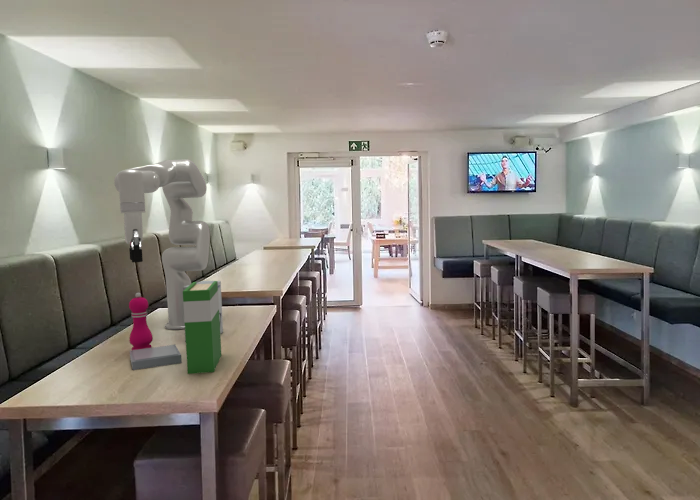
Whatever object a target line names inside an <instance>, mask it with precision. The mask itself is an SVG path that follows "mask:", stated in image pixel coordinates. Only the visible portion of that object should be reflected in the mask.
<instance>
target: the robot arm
mask: <svg viewBox="0 0 700 500" xmlns="http://www.w3.org/2000/svg"><path fill="white" fill-rule="evenodd" d="M113 184H114V188H115V189H116V191H118V192H119V193H118V194H119V195H118V196H119V209H120V214H123V221H124V222H123V224H124V225H123V227H124V241H125V243H126V244H127V245H129V259H130V260H131V262H132V263H142V262H143V249H142V243H143V239H144V238H143V213H146V201H145V200H146V199H145V194H152V193H155V192H156V191H157V190H158V189H159V188H162V192H163V194H164V197H165V199H166V201H167V204H168V207H169V209H170V217H169V228H168V240H169V242H170V244H172V245H175V246H174V247H173V246H172V247H169V248H166V249H164V251H163V252H162V255H161V263H162V266H163V270H164V275H165V285H166V287H165V288H166V299H167V301H166V303H167V315H168V317H167V318H168V322H167V323H165V324H164V328H165V329H166V330H185V325H184V305H183V287H184V286H188V285H191V284H192V281H191V278H190V277H189V275H188V274H187V273H186V272H193V271H194V272H197V271H198V272H200V271H204V270H205V269H206V268H207V267H208V263H209V256H210V255H209V254H210V242H211V241H210V240H211V239H210V238H211V231H210V226H209V224H208V223H207V222H206V221H202V220H193V214H194V212H193V209H192V207H191V206H190V204H189V203H188V202H187V201H186V200H185V199H194V198H197V199H198V198H202V197H204V196H205V194H206V193H207V183H206V181H205V178H204V177H203V175H202V172H201V171H200V169H199V167H198V166H197V165H196V163H195V162H194V161H193V160H190V159H187V158H185V159H166V160H162V161H159V162H156V163H153V164H152V163H151V164H147V165H142V166H137V167H130V168H126V169H123V170H120V171H118V172H117V174H116V175H115V177H114V183H113Z"/></svg>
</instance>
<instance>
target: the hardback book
mask: <svg viewBox="0 0 700 500" xmlns="http://www.w3.org/2000/svg"><path fill="white" fill-rule="evenodd" d="M213 281H214V282H213V283H212V284H197V281H193V282H191V285H189V286H188V287H187V288H186V289H185V290H184V291H183V305H184V321H185V329H184V339H185V338H186V342H185V350H186V351H185V352H186V354H185V355H186V369H187V375H190V374H191V375H192V374H206V373H215V371H216V369H217V366H218V364H219V362H220V360H221V357H222V342H221V341H222V340H221V339H222V338H221V334H220V319H219V300H218V282H217V281H218V280H213Z"/></svg>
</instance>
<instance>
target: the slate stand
mask: <svg viewBox="0 0 700 500" xmlns="http://www.w3.org/2000/svg"><path fill="white" fill-rule="evenodd" d="M129 359H130V363H131V370H133V371H135V370H136V371H137V370H141V369H142V370H143V369H150V368H157V367H161V366H162V367H163V366H169V365H175V364H176V365H177V364H182V363H183V362H182V354H181V352H180V350H179V349H178V346H177V345H176V344H168V345H167V344H166V345H159V346H154V347H153V346H152V348H145V349H138V350H132V349H131V350H129Z"/></svg>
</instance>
